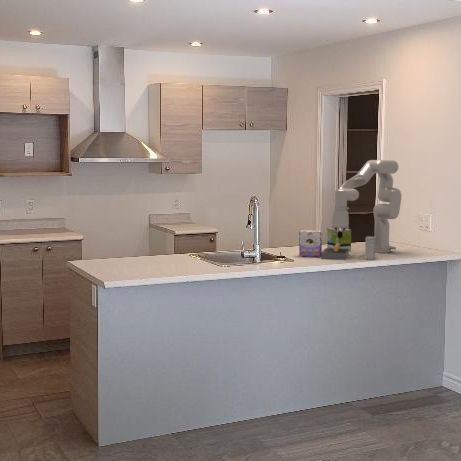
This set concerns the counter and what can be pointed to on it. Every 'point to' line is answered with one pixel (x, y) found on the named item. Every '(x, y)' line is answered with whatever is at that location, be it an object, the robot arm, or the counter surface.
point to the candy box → (310, 243)
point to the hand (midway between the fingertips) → (340, 238)
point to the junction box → (369, 248)
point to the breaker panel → (334, 254)
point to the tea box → (339, 239)
